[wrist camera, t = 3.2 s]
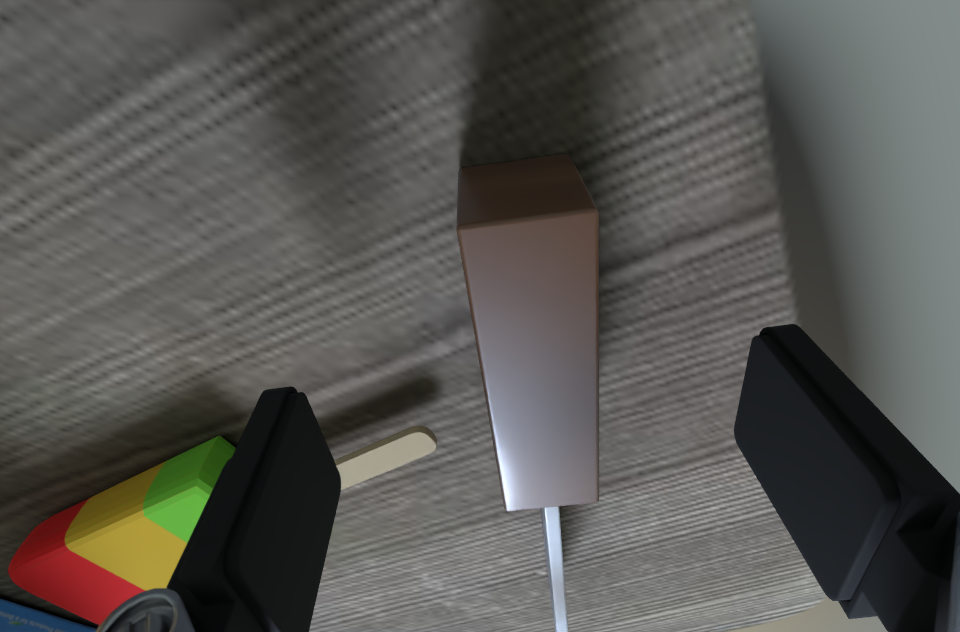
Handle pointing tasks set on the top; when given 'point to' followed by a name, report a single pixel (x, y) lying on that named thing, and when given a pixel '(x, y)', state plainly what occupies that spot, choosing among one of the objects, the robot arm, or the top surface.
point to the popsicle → (155, 525)
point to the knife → (536, 334)
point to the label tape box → (34, 620)
